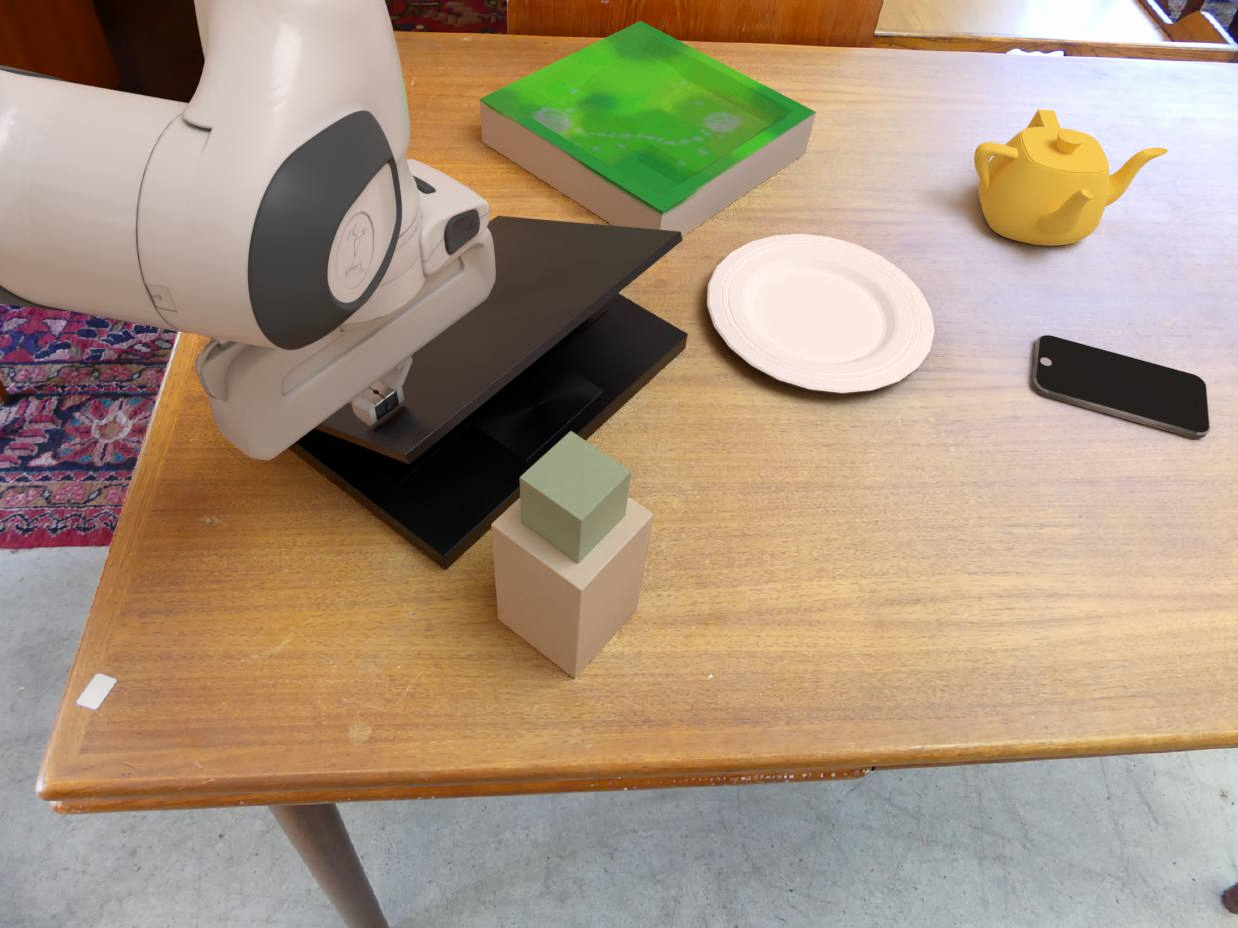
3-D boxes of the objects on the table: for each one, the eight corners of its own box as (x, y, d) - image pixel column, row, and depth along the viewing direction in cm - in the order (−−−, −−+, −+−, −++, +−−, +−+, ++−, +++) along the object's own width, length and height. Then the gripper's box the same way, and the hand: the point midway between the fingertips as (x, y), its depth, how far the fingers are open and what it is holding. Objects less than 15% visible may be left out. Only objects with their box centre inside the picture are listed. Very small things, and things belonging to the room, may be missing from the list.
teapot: (1047, 279, 91) (1095, 195, 83) (940, 209, 97) (976, 124, 89) (1120, 228, 97) (1172, 145, 89) (1015, 165, 102) (1055, 82, 95)
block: (578, 564, 53) (581, 520, 50) (520, 521, 55) (519, 477, 51) (625, 515, 55) (631, 470, 52) (568, 476, 57) (570, 430, 53)
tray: (637, 62, 110) (640, 21, 106) (805, 153, 101) (816, 112, 97) (482, 141, 98) (479, 98, 94) (657, 254, 89) (662, 211, 85)
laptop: (685, 348, 81) (688, 332, 80) (445, 570, 66) (443, 556, 64) (501, 239, 89) (501, 223, 87) (246, 416, 73) (240, 400, 72)
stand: (574, 679, 62) (581, 590, 52) (497, 619, 64) (490, 523, 54) (637, 608, 65) (654, 513, 56) (562, 554, 67) (566, 454, 58)
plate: (659, 289, 86) (662, 274, 84) (827, 224, 94) (832, 209, 92) (800, 440, 76) (805, 425, 74) (975, 353, 84) (983, 338, 82)
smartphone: (1038, 330, 85) (1206, 376, 83) (1035, 336, 85) (1202, 381, 83) (1033, 387, 80) (1211, 437, 78) (1029, 393, 81) (1206, 443, 79)
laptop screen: (683, 241, 73) (681, 231, 73) (410, 465, 58) (404, 454, 58) (501, 224, 87) (497, 215, 87) (240, 401, 72) (235, 392, 71)
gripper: (227, 380, 45) (289, 533, 56) (508, 191, 55) (514, 351, 66) (147, 319, 47) (222, 478, 58) (433, 148, 57) (450, 310, 68)
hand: (379, 409), depth 62 cm, fingers closed, pressing on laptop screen
